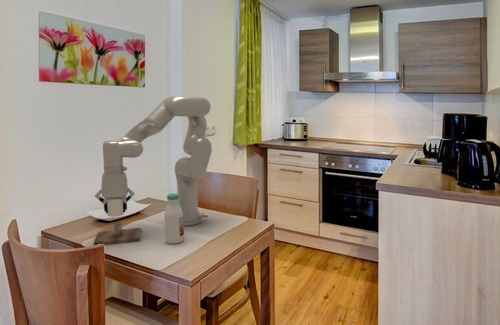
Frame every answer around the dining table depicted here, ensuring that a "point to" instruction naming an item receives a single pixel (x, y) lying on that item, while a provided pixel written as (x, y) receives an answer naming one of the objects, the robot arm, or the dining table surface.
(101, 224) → the dining table surface
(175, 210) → the milk bottle
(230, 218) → the dining table surface
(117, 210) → the pale grey short cylinder
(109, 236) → the post base
